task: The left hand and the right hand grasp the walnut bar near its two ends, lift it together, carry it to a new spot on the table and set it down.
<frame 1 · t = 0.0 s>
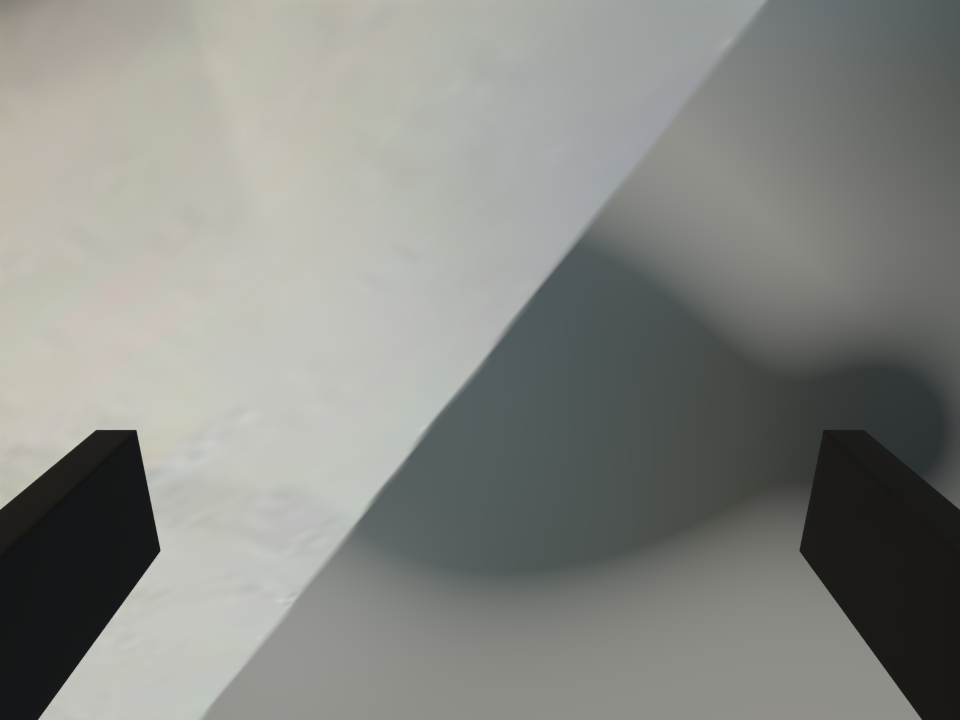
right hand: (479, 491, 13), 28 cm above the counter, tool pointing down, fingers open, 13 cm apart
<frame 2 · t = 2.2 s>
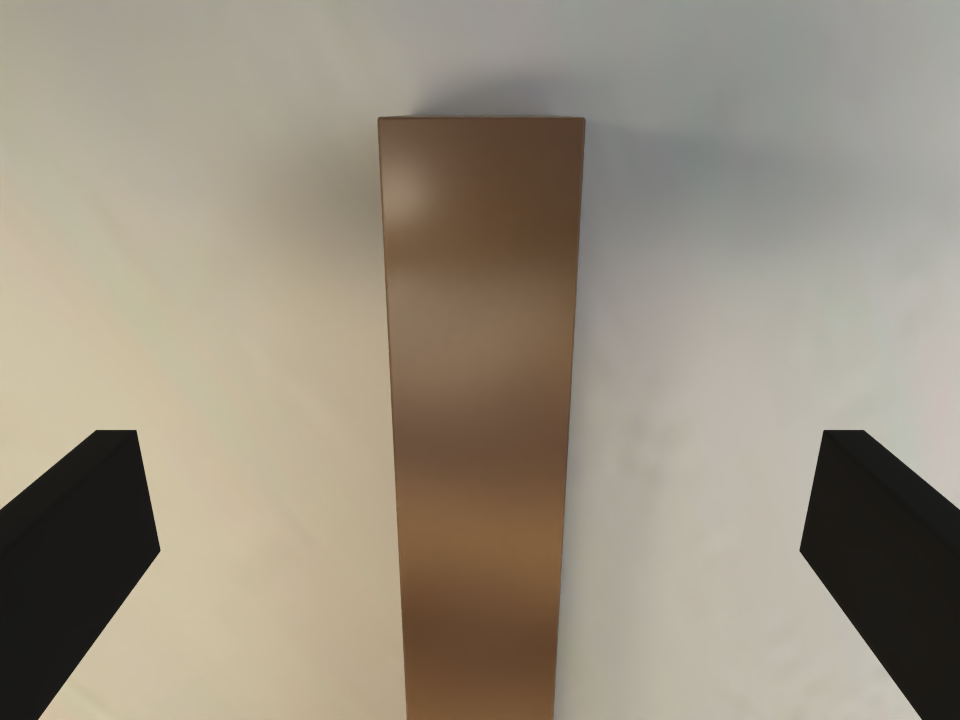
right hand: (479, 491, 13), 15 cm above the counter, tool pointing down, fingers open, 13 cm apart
bar: (479, 693, 34), on the counter
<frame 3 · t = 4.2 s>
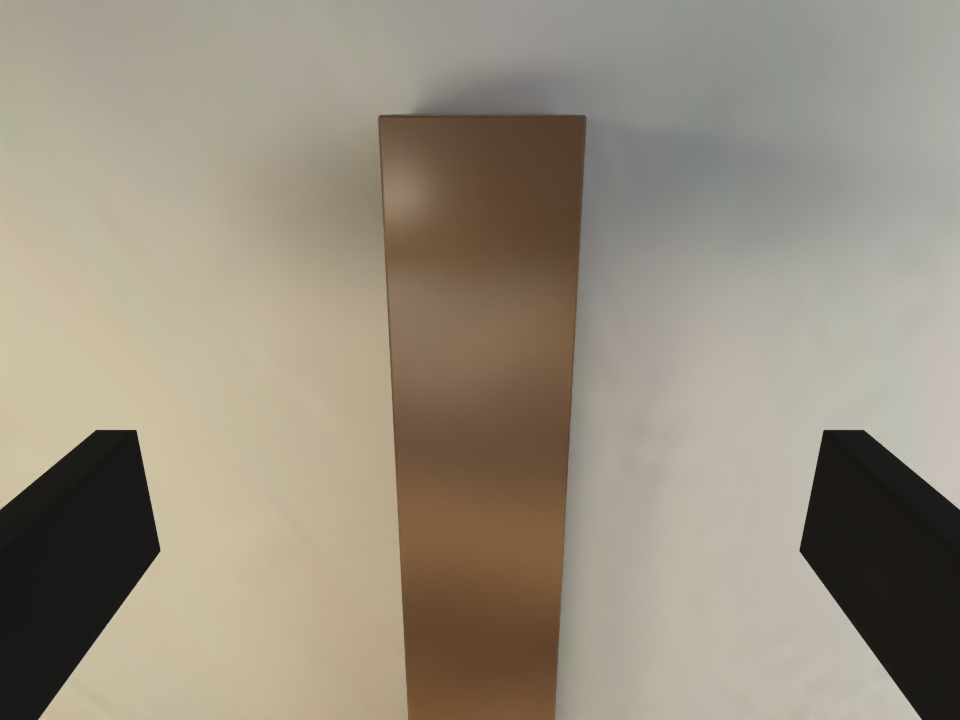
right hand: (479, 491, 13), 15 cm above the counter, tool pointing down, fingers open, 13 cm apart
bar: (481, 692, 34), on the counter, touching left hand
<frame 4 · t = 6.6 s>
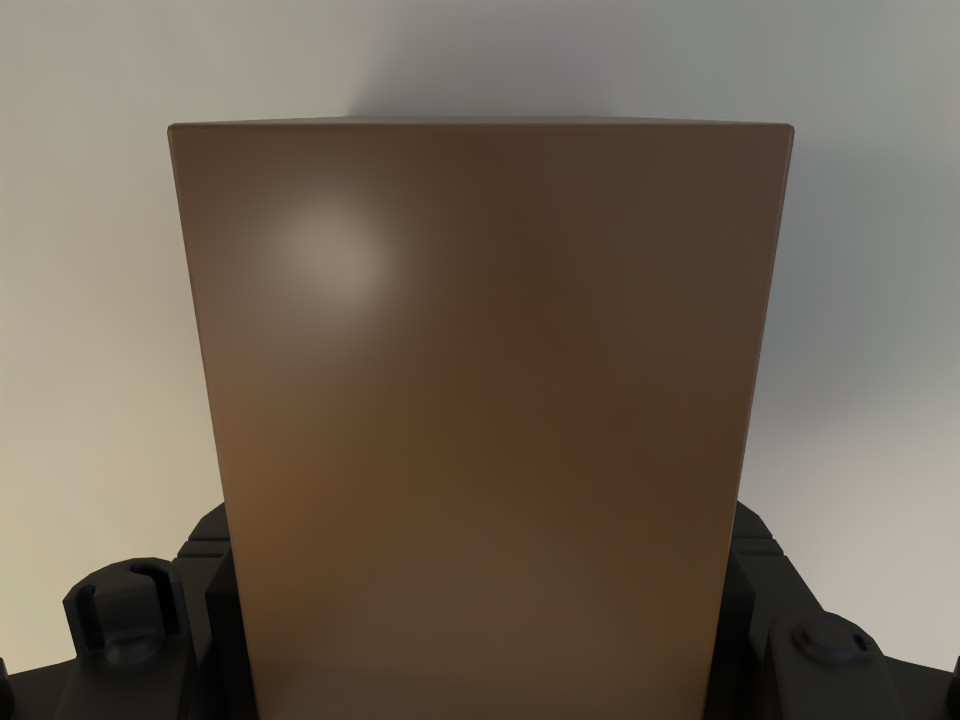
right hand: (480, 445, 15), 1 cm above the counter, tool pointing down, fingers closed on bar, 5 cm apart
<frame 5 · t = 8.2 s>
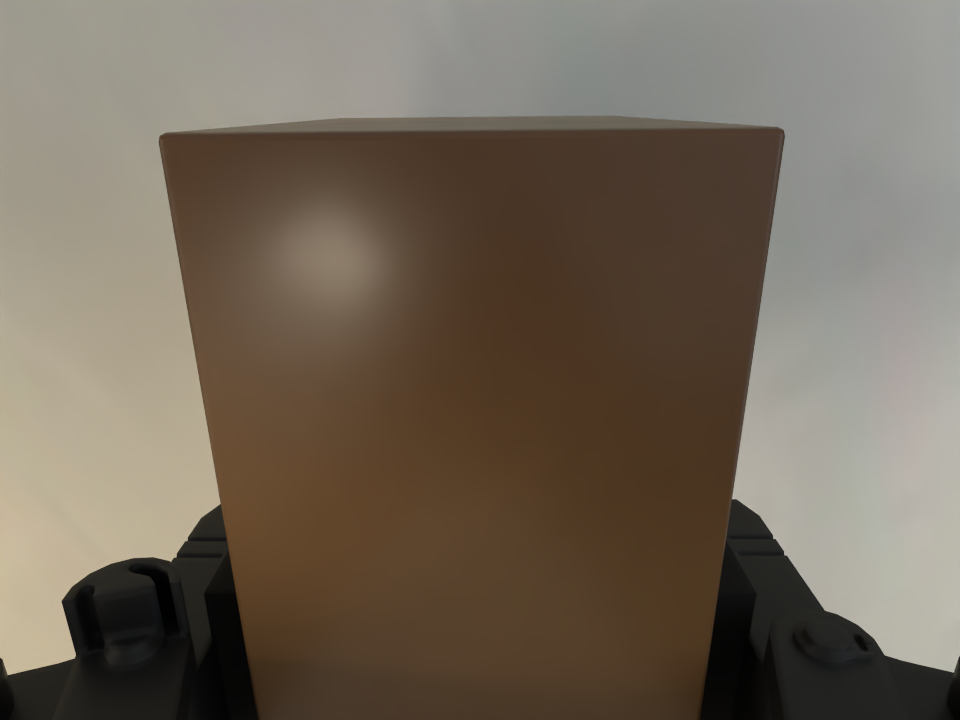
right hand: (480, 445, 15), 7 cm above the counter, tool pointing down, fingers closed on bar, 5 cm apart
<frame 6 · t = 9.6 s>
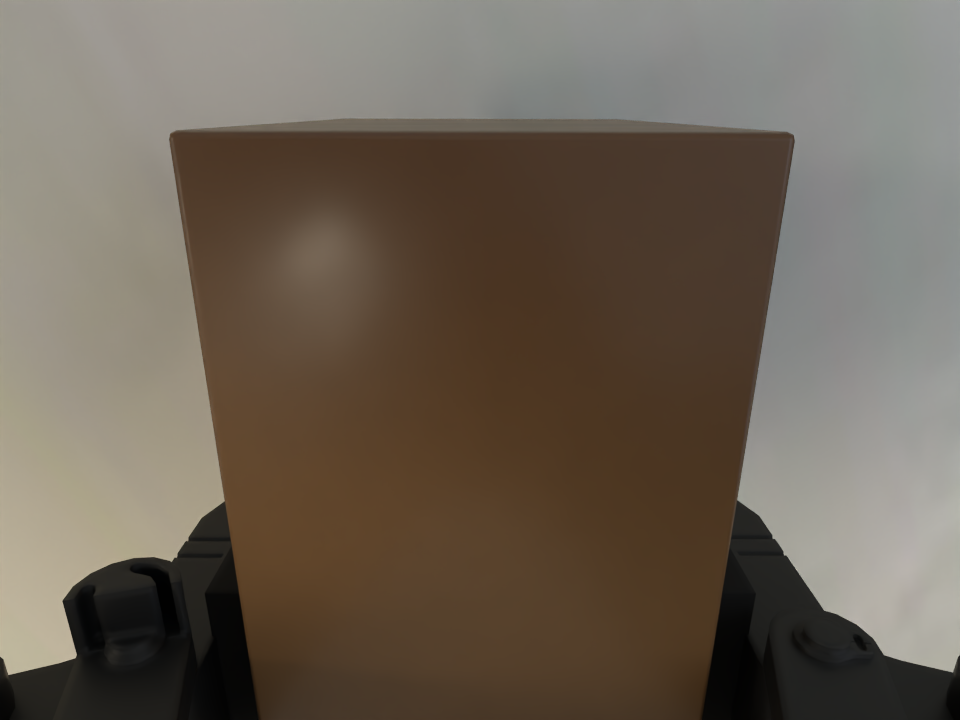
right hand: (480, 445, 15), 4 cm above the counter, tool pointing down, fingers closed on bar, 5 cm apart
when the right hand's fingers open (2 cm above the counter, at t = 10.2 s): bar drops 1 cm, on the counter.
when the left hand's fingers open (4 cm above the counter, at t = 10.4 s): bar stays where it is, on the counter.
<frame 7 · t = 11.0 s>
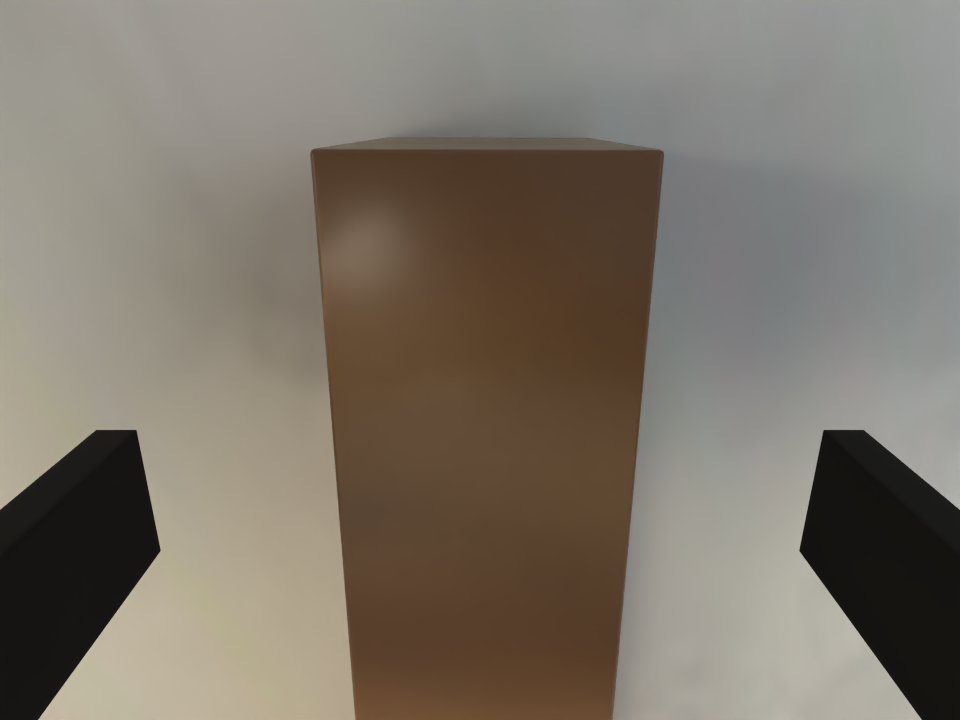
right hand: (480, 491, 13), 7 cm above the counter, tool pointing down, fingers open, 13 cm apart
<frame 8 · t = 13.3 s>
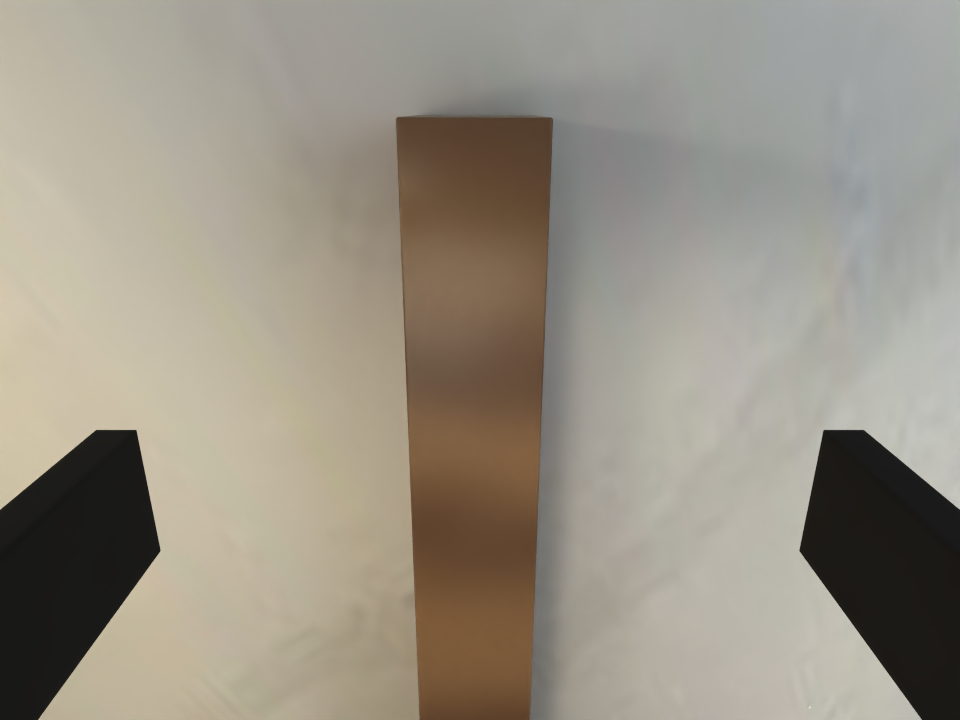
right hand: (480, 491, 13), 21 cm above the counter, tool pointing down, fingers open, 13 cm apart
bar: (475, 611, 40), on the counter
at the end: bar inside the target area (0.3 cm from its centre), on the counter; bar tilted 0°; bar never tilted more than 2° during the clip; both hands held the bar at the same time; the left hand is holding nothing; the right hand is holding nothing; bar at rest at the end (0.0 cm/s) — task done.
